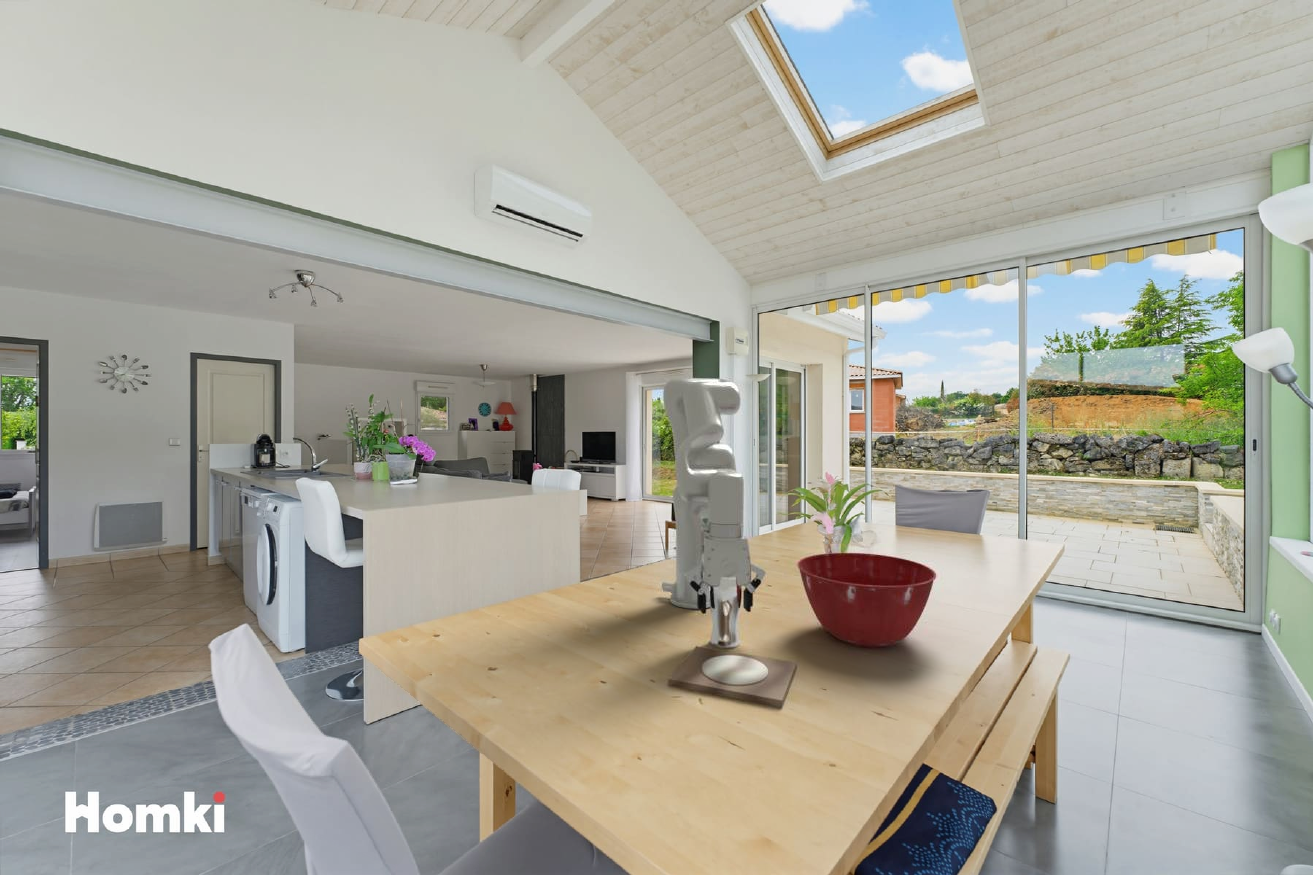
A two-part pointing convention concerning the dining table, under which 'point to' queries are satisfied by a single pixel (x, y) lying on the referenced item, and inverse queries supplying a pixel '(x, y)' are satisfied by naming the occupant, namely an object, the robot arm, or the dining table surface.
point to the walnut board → (735, 676)
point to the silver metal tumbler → (725, 612)
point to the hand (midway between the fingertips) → (725, 610)
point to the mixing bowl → (866, 595)
